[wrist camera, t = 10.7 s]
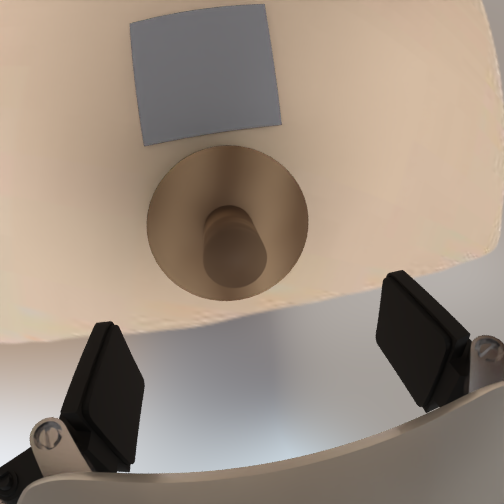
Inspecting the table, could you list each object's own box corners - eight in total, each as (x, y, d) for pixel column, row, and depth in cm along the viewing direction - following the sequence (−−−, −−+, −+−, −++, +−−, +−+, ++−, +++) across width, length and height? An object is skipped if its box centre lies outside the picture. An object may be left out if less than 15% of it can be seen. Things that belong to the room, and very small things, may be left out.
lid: (297, 136, 21) (331, 139, 15) (308, 280, 26) (335, 324, 20) (134, 161, 20) (107, 174, 14) (168, 304, 25) (160, 355, 19)
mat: (263, 6, 21) (264, 4, 20) (280, 124, 25) (281, 124, 25) (131, 25, 20) (129, 23, 19) (145, 146, 24) (144, 146, 24)
